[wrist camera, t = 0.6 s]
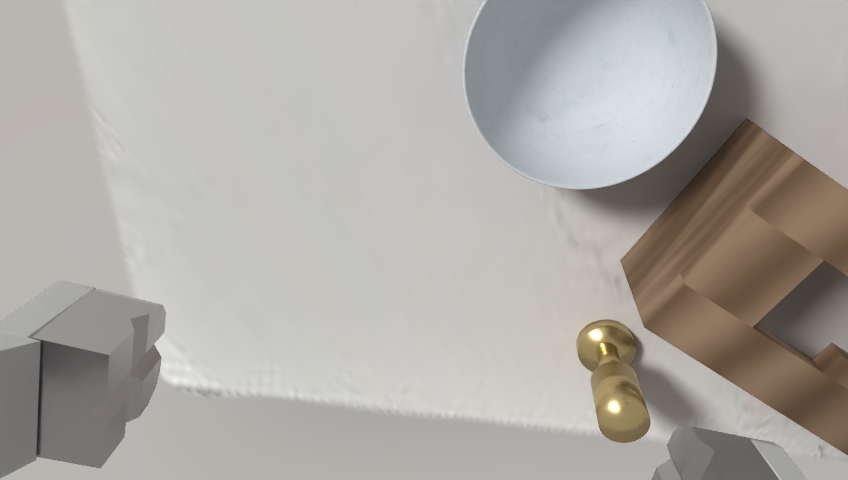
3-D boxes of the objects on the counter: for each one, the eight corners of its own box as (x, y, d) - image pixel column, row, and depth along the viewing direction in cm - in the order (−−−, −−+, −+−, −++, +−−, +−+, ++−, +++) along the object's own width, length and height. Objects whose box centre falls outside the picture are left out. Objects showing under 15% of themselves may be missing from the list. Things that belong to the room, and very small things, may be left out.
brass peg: (600, 309, 53) (619, 385, 44) (645, 338, 54) (673, 418, 45) (565, 348, 55) (576, 427, 46) (609, 375, 56) (629, 459, 47)
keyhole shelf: (620, 260, 51) (644, 327, 42) (746, 118, 46) (805, 160, 37) (844, 404, 54) (911, 495, 45) (989, 288, 49) (1099, 366, 40)
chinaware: (426, 54, 46) (412, 73, 39) (586, -116, 41) (603, -130, 34) (563, 193, 50) (572, 233, 43) (729, 53, 44) (771, 73, 37)
